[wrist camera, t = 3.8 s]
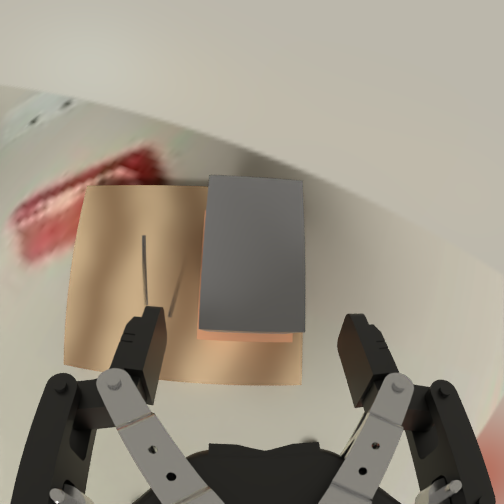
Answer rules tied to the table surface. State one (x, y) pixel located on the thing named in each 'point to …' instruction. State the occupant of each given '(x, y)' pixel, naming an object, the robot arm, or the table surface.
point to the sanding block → (252, 260)
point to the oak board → (156, 288)
